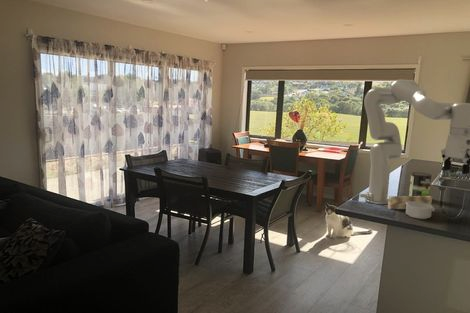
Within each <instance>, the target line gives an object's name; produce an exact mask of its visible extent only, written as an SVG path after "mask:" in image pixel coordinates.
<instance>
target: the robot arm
mask: <svg viewBox="0 0 470 313" xmlns="http://www.w3.org/2000/svg"><path fill="white" fill-rule="evenodd" d="M403 101H404V102H405V103H407V104H409V105H411V106H412V107H413V108H414V110H415V111H416V112H417V113H419V114H421V115H423V116H424V117H426V118H428V119H430V120H442V121H445V120H446V121H448V120H450V125H449V134H448V135H447V139H446V143H445V148H443V149H441V150H440V153H441V158H442V161H444V162H443V170H444V171H450V170H451V168H452V159H456V160H461V161H462V162H463V164H462V170H461V174H463V175H469V174H470V102H469V103H468V102H456V103H454V102H442V101H439V102H438V101H435V100H433V99H431V98H429V97H428V96H427V91H426V90H425V89H424V88H421V87H419V84H418V83H417V82H416V81H415V80H411V79H401V78H400V79H396V80H394V81H392V82H391V84H390V85H389V87H382V86H381V87H373V88H371V89H369V90H368V91H367V93H366V94H365V96H364V100H363V103H364V104H363V105H364V109H365V112H366V117H367V118H366V119H367V123H368V130H369V135H370V137H371V139H373V140H374V141H380V142H376V143H374V144H372V145H371V147H370V149H369V157H370V169H369V170H370V172H369V184H368V185H369V186H368V191H366V193H359V198H363V199H364V200H365V201H366V202H368V203H369V204H376V205H388V199H389V188H390V187H389V184H390V174H391V167H390V163H389V161H394V160H397V159H399V158H400V157H402V156H401V155H402V153H403V148H402V140H401V135H400V130H399V128H398V126H397V125H396V124H395V123H394V122H391V121H386V117H385V111H384V110H383V108H382V107H381V105H395V104H398V103H400V102H403ZM381 141H383V142H381Z"/></svg>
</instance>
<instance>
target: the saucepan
mask: <svg viewBox="0 0 470 313" xmlns="http://www.w3.org/2000/svg"><path fill="white" fill-rule="evenodd" d="M440 211H448V212H455V211H456V210H455V209H454V208H446V207H434V206H433V205H432V204H431V205H430V204H427V203H422V202H406V209H405V215H408V217H411V218H414V219H418V220H426V219H430V218H431V217H432V213H433V212H434V213H437V212H440Z"/></svg>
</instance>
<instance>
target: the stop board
mask: <svg viewBox="0 0 470 313" xmlns="http://www.w3.org/2000/svg"><path fill="white" fill-rule="evenodd" d="M387 199H388V204H387V209H389V210H406V202H422V203H427V204H430V205H432V202H433V201H432V200H433V197H432V196H430V195H429V196H409V195H403V196H402V195H397V196H396V195H393V196H392V195H390V196H389V195H388V198H387Z"/></svg>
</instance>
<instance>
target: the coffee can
mask: <svg viewBox="0 0 470 313" xmlns="http://www.w3.org/2000/svg"><path fill="white" fill-rule="evenodd" d="M432 176H433V175H432V174H431V173H426V172H418V171H417V172H414V171H413V172H411V173H410V184H409V193H408V196H430V192H431V185H432V184H431V183H432Z"/></svg>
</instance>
